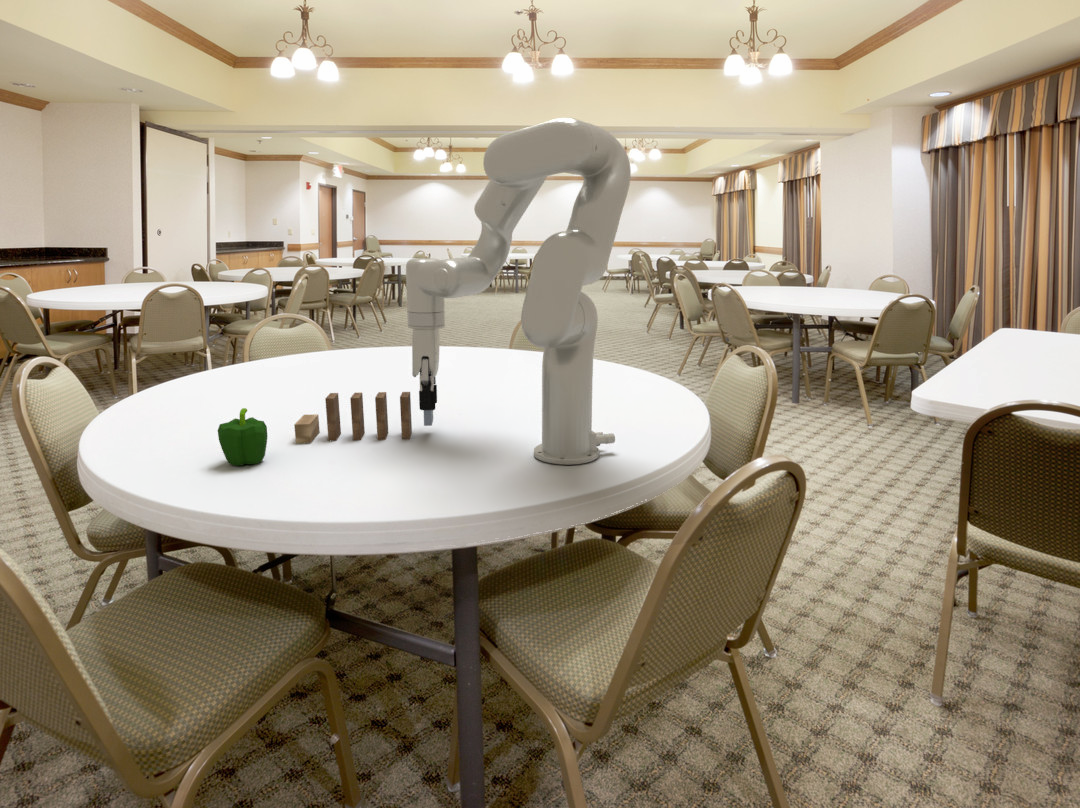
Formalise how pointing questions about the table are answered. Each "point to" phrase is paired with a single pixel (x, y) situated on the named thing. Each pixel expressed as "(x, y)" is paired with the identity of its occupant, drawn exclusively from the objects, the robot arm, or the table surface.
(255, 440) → the bell pepper
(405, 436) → the walnut tile
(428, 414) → the blue grey rectangular block
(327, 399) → the walnut tile
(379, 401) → the walnut tile
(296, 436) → the oak end block
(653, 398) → the table surface
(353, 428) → the walnut tile
